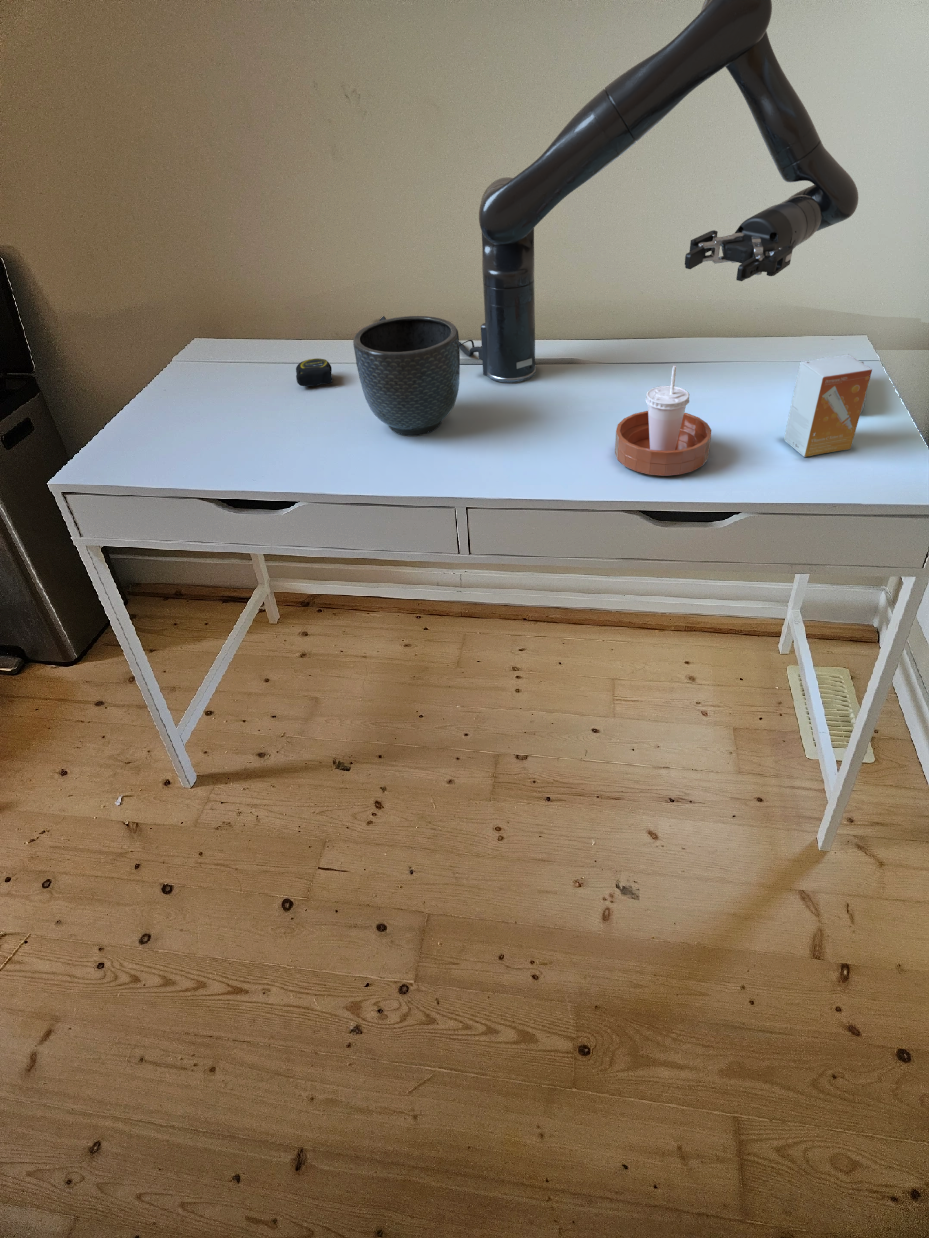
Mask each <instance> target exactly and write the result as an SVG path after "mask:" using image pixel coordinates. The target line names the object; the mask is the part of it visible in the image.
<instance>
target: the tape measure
mask: <svg viewBox="0 0 929 1238" xmlns="http://www.w3.org/2000/svg"><path fill="white" fill-rule="evenodd" d="M332 371H333V370H332V365H331V363H330V362H329V360H326V359H325V358H308V359H305V360H302V361H301V362H299V363H297V365H296V366H295V374H296V375H295V379H296V383H297V385H298V386H300V387H311V386H312V387H317V386H320V385H326V384H331V383H333V375H332V373H333V372H332Z"/></svg>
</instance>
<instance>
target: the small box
mask: <svg viewBox="0 0 929 1238" xmlns="http://www.w3.org/2000/svg"><path fill="white" fill-rule="evenodd" d="M862 362H863V361H861V362H860V360H859V359H857V358H856V357H854V356H853V355H851V354H850V353H846V354H841V355H834V356H825V357H820V358H815V359H810V360H802V361H800V362H799V366H798V370H797V374H796V375H797V376H796V379H795V383H794V390H793V395H792V398H791V404H790V409H789V412H788V413H789V414H788V417H787V423H786V428H785V433H784V437H783V441H784V442H786V443H787V444H788V445H789V446H791V447H792V448H793V449H794V450H795V451H796V452H798V454H799V455H801V456H803V458H804V457H805V458H806V457H811V456H817V455H823V454H828V453H833V452H839V451H848V450H851V449H852V445H853V441H854V438H855V435H856V432H857V428H858V424H859V420H860V416H861V413H862V412H861V409H862V406H863V402H864V398H865V394H866V395H867V391H868V387H869V382H870V381H871V376H872V372H873V368H872V367H870V366H868V365H867V364H865V363H864V364H863V363H862Z"/></svg>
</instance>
